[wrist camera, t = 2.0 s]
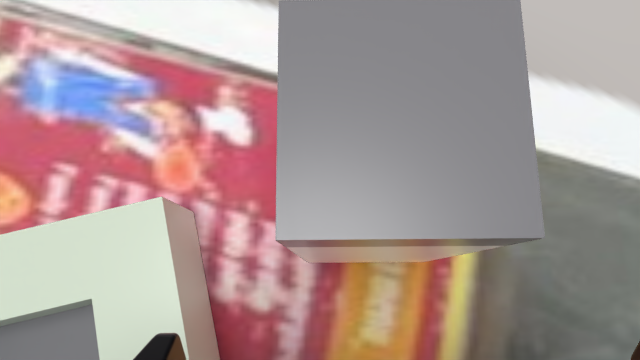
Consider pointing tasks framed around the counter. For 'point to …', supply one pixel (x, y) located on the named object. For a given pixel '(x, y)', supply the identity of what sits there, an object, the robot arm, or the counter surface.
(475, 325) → the counter surface
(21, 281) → the sage block
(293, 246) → the white plug block
